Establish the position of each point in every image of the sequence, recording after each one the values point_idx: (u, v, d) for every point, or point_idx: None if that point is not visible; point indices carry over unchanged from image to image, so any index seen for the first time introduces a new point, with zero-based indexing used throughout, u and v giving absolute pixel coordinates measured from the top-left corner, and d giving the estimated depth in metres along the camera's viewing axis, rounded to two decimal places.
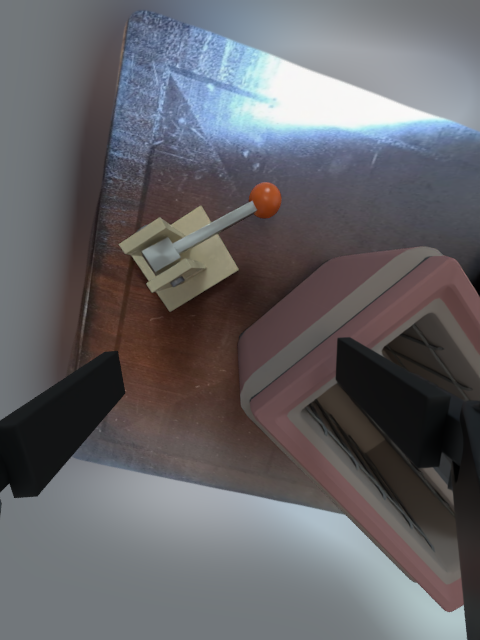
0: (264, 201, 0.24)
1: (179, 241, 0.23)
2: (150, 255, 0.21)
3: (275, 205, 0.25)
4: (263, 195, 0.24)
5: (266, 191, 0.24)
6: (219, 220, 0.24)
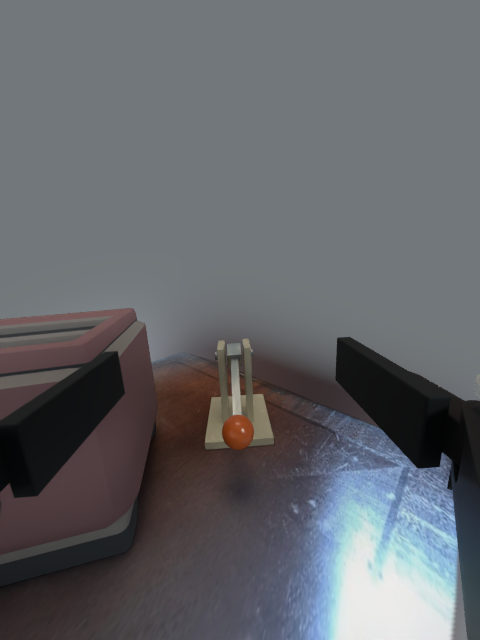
0: (234, 416, 0.26)
1: (237, 361, 0.35)
2: (236, 345, 0.37)
3: (226, 424, 0.25)
4: (239, 416, 0.26)
5: (240, 419, 0.25)
6: (238, 386, 0.31)
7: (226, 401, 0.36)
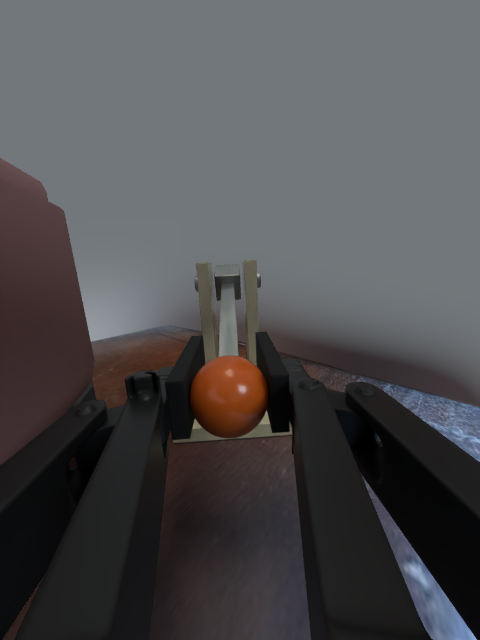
0: (221, 357, 0.11)
1: (232, 286, 0.20)
2: (231, 265, 0.22)
3: (200, 374, 0.10)
4: (232, 356, 0.11)
5: (236, 361, 0.10)
6: (233, 316, 0.16)
7: None
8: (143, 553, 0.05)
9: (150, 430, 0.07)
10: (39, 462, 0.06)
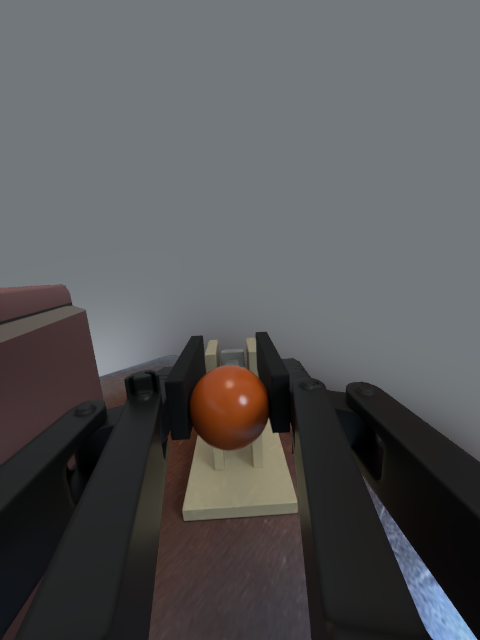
0: None
1: (236, 360, 0.21)
2: (236, 349, 0.24)
3: (203, 376, 0.11)
4: None
5: None
6: None
7: None
8: (143, 553, 0.05)
9: (150, 430, 0.07)
10: (38, 462, 0.06)
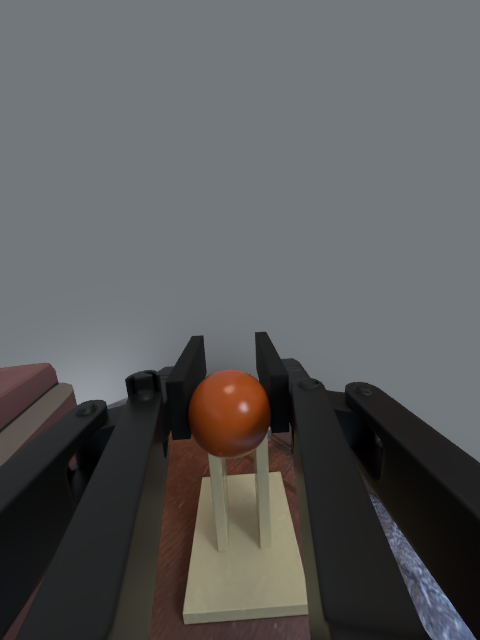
0: None
1: None
2: None
3: None
4: None
5: None
6: None
7: (223, 518, 0.21)
8: (144, 553, 0.05)
9: (151, 430, 0.07)
10: (40, 462, 0.06)
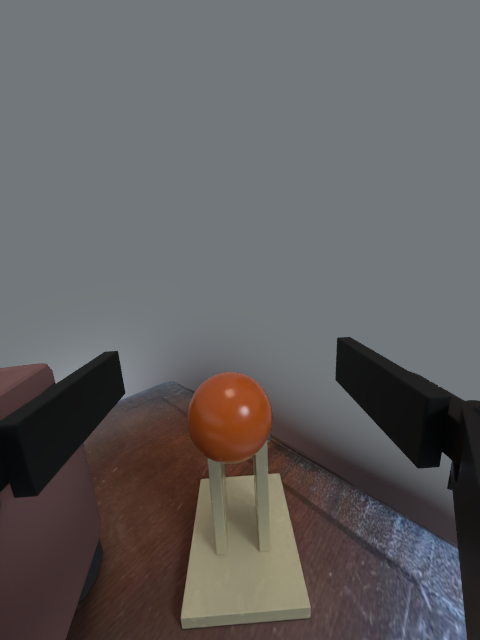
0: None
1: None
2: None
3: None
4: None
5: None
6: None
7: (222, 520, 0.21)
8: None
9: None
10: None
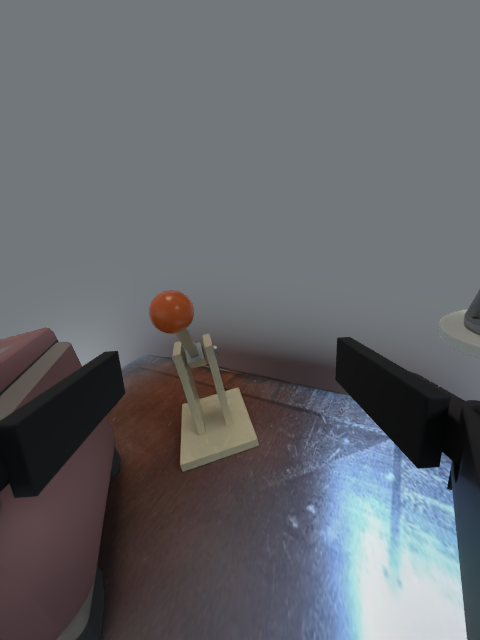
0: None
1: (195, 346, 0.29)
2: None
3: None
4: None
5: None
6: None
7: (197, 410, 0.31)
8: None
9: None
10: None
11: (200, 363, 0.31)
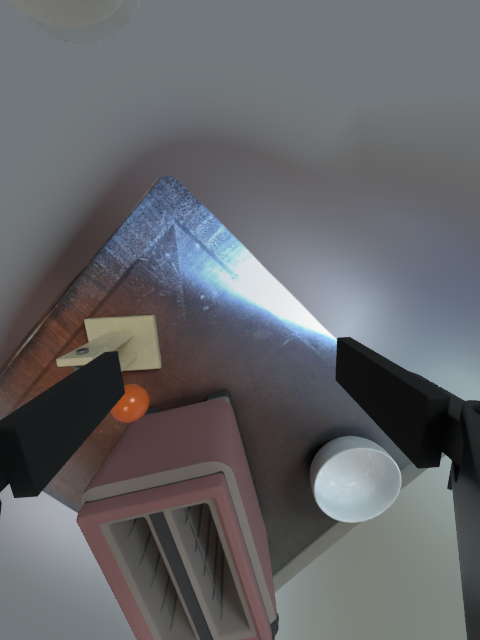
0: None
1: None
2: (73, 369, 0.31)
3: (117, 420, 0.22)
4: None
5: None
6: None
7: (127, 361, 0.38)
8: None
9: None
10: None
11: None
